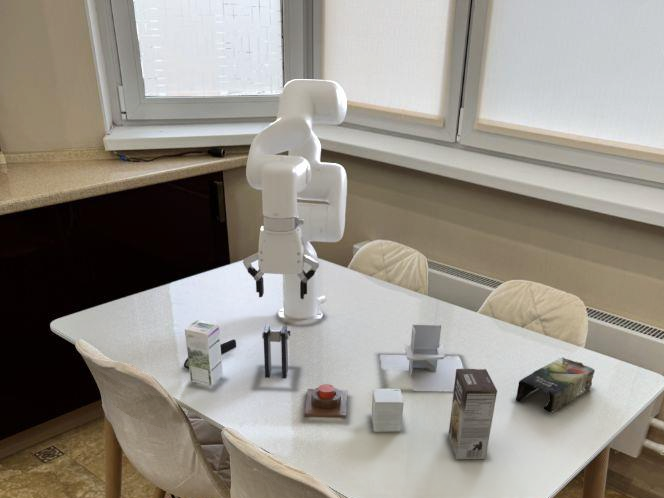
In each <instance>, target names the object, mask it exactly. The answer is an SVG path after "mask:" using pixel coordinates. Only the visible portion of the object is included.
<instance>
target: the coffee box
mask: <svg viewBox="0 0 664 498" xmlns="http://www.w3.org/2000/svg"><path fill="white" fill-rule="evenodd" d="M452 393H453V394H452V403H451V411H450V419H449V426H448V440H449V442H450V445H451V447H452V451H453V453H454V457H455V459H456V460H486V459H487V458H486V457H487V452H488V446H489V442H490V441H489V440H490V435H491V429H492V424H493V418H494V413H495V406H496V401H497V396H498V395H497V394H498V389H497V388H496V385H495V383H494V381H493V380H492V378H491V376H490V374H489V372H488V370H487V369H486V368H484V369H483V368H482V369H481V368H480V369H479V368H464V369H456V376H455V384H454V392H452Z"/></svg>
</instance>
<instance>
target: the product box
mask: <svg viewBox="0 0 664 498" xmlns="http://www.w3.org/2000/svg"><path fill="white" fill-rule="evenodd" d="M371 397H372V398H371V399H372V400H371V413H370V414H371V417H370V419H371V422H372V429H373V432H375V433H376V432H377V433H382V432H385V433H387V432H402V424H403V414H404V404H405V403H404V399H403V395H402V391H401V389H400V388H373V389H372V396H371Z"/></svg>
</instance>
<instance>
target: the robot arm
mask: <svg viewBox="0 0 664 498" xmlns="http://www.w3.org/2000/svg"><path fill="white" fill-rule="evenodd" d="M347 104H348V103H347V96H346V93H345V92H344V90H343V88H342V86H340V84H338V83H337V82H336V81H333V80H328V79H327V80H326V79H325V80H324V79H307V78H297V79H292V80H290V81H287V82H286V84H285V85H284V86H283V88H282V90H281V91H280V93H279V97H278V109H277V115H276V120H275V121H273V122H271V123H270V124H269V125H267V126H266V127H265V128H263V129H262V130H261V131H260V132H259V133H257V134H256V135H255V137H254V138H253V139H252V141H251V144H250V147H249V151H248V156H247V160H246V165H245V167H246V168H245V175H246V181H247V184H248V185H249V186H250V187H251V188H253V189H255V190H259V191H261V198H262V200H261V201H262V202H261V204H262V224H263V225H261V226H260V229H259V237H258V251H257V252H255V253H254V254H251V255H249V256H247V257H245V258H243V261H242V264H243V266H244V267H245V269H246V270H247V273H248V274H249V275H250V276H251V277H252V278H253V279H254V281H255V293H258V298H263V297H264V293H265V290H264V289H265V287H264V285H265V284H264V277H263V276H264V275H265V274H269V275H282V303H283V307H282V308H280V309H279V310H278V312H277V317H278V318H283V319H284V318H286V319H287V318H288V319H292V320H309V319H312V320H313V319H314V320H322V319H323V316H324V315H323V314H324V313H323V311H322V310H321V308H320V306H321V304H324V303H326V302H327V296H326V295H321V296H319V297H318V269H319V266H320V262H319V261H318V255H317V251H316V250H315V248H314V246H313V245H312V244H311V242H319V243H320V242H322V243H337V242H339V241H341V240H342V239H343V238H344V237H343V236H344V233H345V227H346V226H345V225H346V211H347V196H348V177H347V172H346V169H345V168H344V166H342V165H341V164H339V163H332V162H321V157H322V156H321V154H322V145H321V141H320V140H319V139H318V137H317V135H316V134H315V133H314V132H313V125H331V126H332V125H333V126H337V125H341V124H342V123H343V122H344V120H345V118H346V114H347V110H348V109H347V108H348V105H347ZM285 152H288V155H283V154H282V153H285ZM298 200H304V201H314V202H316V201H318V202H326V203H313V202H298ZM327 203H328V204H327ZM256 261H258V262H257V265H258V270H257V269H256V268H255V267H254V266H253V265H252V263H254V262H256Z"/></svg>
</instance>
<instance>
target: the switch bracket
mask: <svg viewBox="0 0 664 498" xmlns="http://www.w3.org/2000/svg"><path fill="white" fill-rule="evenodd" d="M270 330H271V325H270V324H265V325H264V330H263V332H262V333H261V339H262V340H263V359H264V360H263V362H264V378H266V379H269V378H270V376H271V373H272V349H271V347H272V346H271V342H270ZM281 330H282V331H281V341H280V349H281V350H280V353H281V378H282V379H287V377H288V372H289V355H288V350H289V349H288V348H289V347H288V340H289V339H290V338H289V337H290V336H289V334H287V331H288V325H282V328H281Z"/></svg>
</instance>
